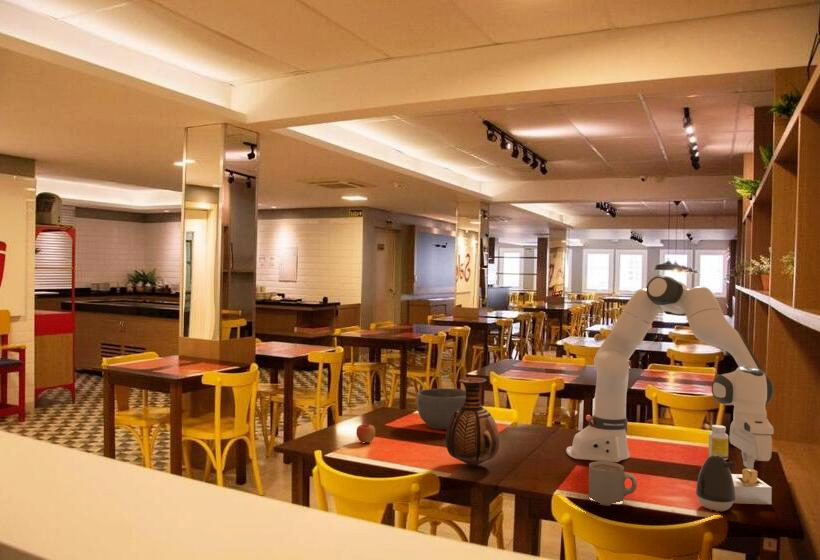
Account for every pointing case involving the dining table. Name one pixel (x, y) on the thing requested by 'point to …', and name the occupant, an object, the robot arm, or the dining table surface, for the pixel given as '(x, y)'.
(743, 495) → the jig block
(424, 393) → the bowl
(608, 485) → the coffee mug
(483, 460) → the vase
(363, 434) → the apple
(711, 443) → the pill bottle
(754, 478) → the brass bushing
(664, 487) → the dining table surface
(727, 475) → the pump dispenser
